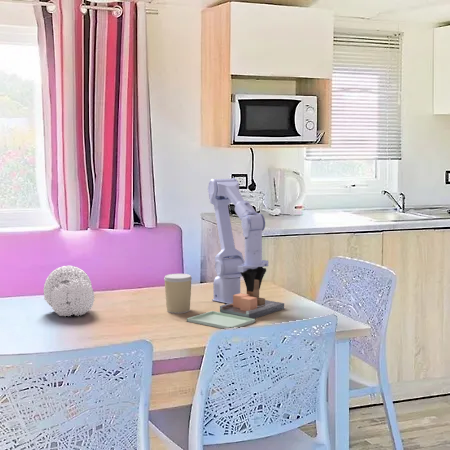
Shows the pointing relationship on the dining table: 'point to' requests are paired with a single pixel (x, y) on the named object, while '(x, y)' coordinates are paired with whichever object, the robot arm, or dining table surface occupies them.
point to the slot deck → (253, 313)
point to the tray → (220, 320)
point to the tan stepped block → (257, 293)
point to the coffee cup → (178, 292)
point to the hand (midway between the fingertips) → (253, 290)
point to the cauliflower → (69, 291)
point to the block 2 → (248, 303)
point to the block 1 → (238, 299)
